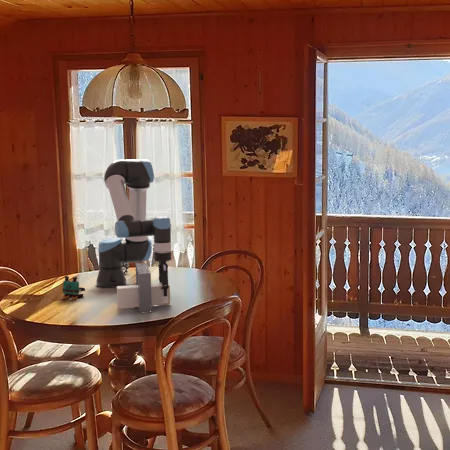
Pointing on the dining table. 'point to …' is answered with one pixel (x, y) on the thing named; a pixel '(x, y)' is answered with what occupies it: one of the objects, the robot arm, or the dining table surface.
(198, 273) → the dining table surface
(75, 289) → the binoculars
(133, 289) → the grey rectangular block
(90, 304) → the dining table surface
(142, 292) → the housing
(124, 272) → the valve
